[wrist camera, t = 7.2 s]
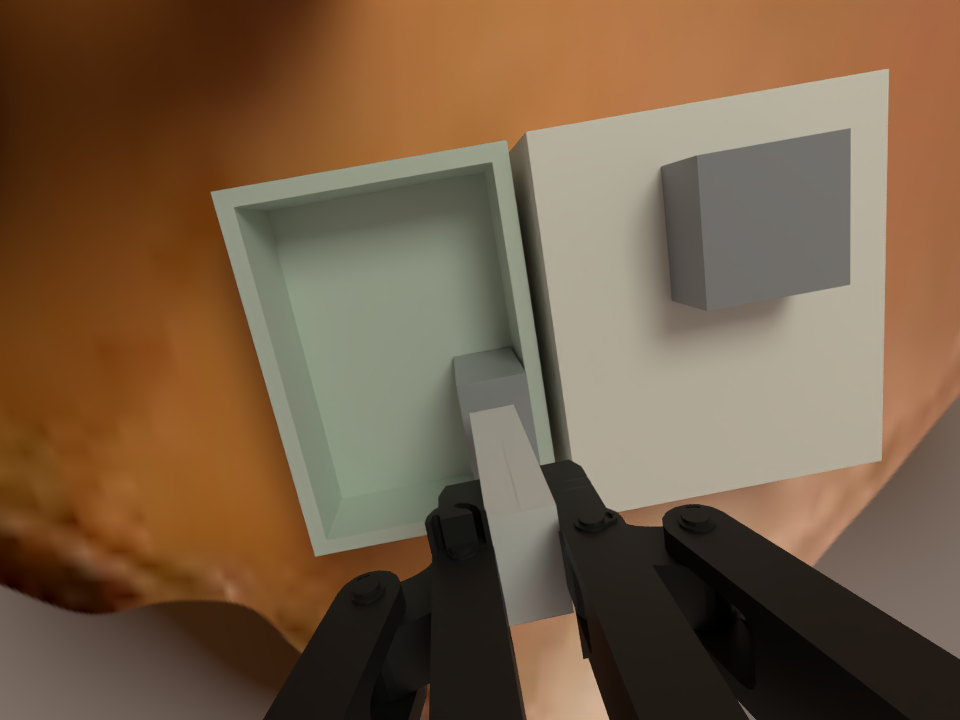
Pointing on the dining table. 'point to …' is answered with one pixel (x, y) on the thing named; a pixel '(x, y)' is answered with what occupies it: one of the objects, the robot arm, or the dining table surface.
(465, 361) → the slate tile
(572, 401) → the plate
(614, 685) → the robot arm
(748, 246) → the slate tile
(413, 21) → the dining table surface
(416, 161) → the box
